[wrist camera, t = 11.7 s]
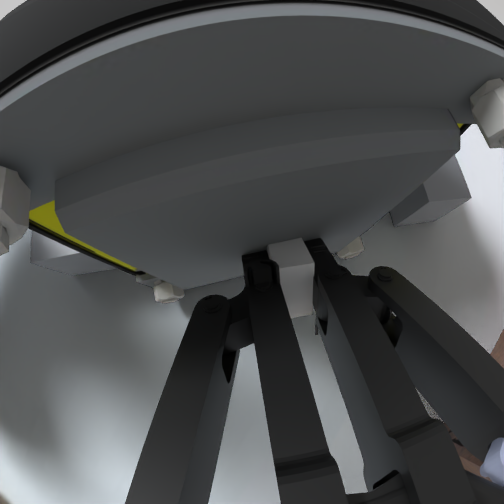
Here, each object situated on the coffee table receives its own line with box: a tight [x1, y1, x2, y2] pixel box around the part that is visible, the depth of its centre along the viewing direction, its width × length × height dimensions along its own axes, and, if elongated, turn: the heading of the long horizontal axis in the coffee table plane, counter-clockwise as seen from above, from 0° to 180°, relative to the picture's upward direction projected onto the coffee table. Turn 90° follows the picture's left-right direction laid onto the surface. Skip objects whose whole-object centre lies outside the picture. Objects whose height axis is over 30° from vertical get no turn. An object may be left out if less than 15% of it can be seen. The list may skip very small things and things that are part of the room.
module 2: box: [390, 155, 471, 227], centre depth 22 cm, size 5×12×6 cm, turn 9°
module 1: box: [31, 230, 118, 276], centre depth 20 cm, size 5×12×6 cm, turn 9°
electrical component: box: [0, 0, 504, 303], centre depth 13 cm, size 18×10×20 cm, turn 104°
